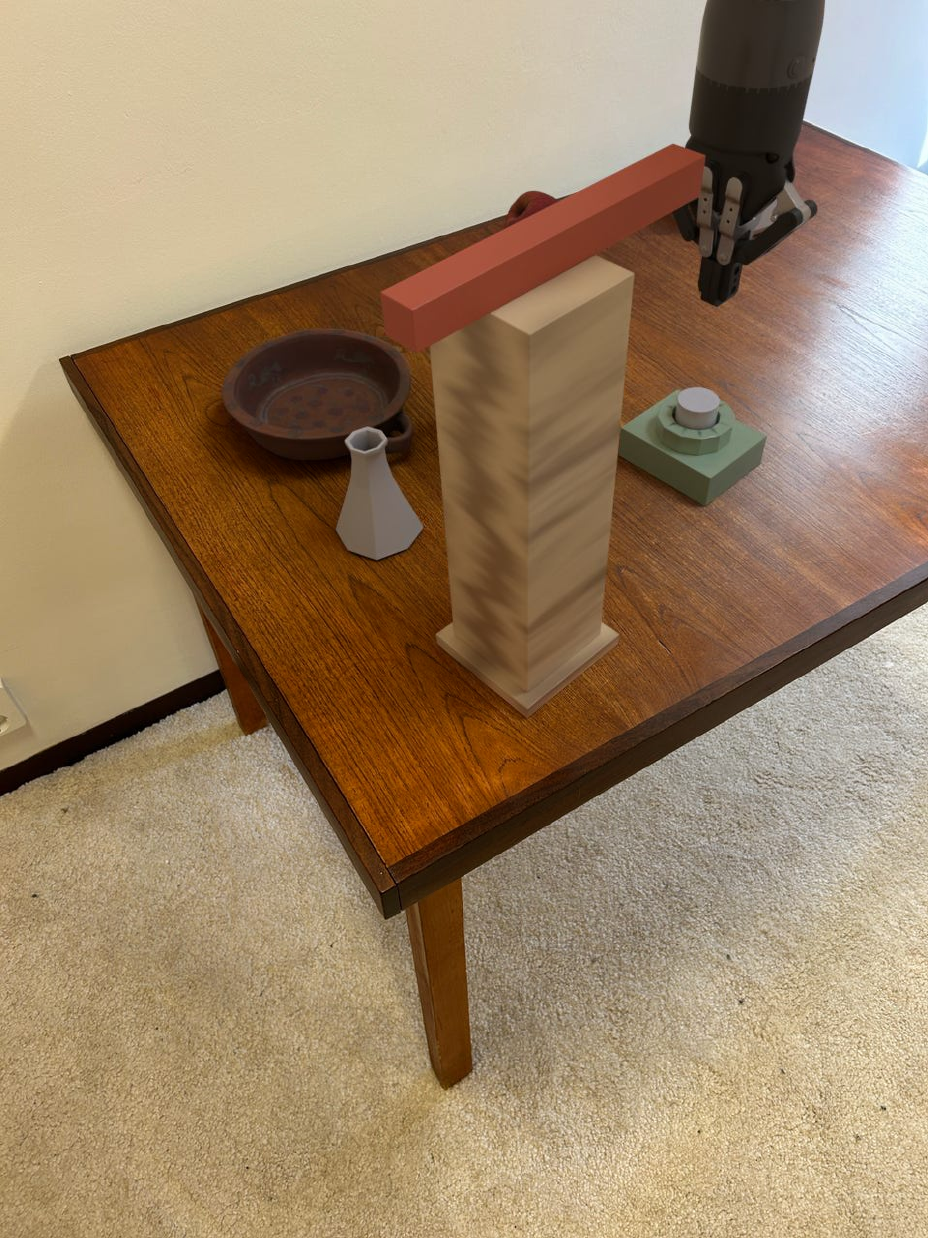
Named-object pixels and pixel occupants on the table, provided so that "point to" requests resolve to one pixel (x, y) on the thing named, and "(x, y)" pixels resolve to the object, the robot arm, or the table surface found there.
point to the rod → (538, 248)
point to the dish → (320, 392)
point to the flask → (374, 501)
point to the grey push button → (697, 408)
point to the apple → (528, 206)
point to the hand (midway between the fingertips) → (715, 299)
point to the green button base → (691, 450)
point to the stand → (532, 479)
